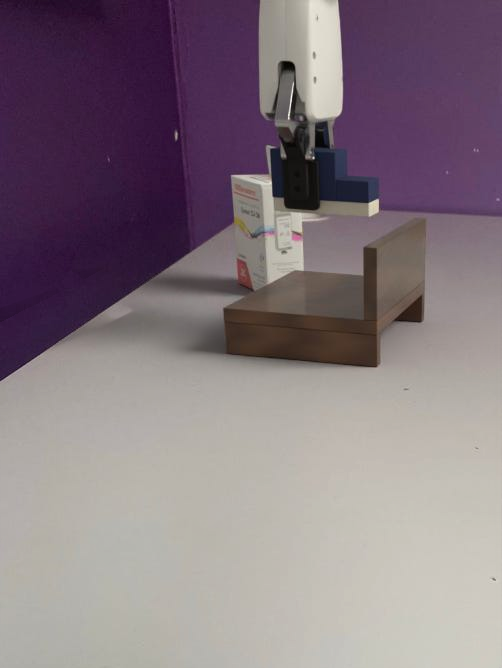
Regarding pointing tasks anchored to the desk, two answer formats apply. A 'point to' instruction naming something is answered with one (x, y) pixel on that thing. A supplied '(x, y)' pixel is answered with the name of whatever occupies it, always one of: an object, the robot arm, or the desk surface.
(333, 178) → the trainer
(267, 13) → the robot arm
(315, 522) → the desk surface
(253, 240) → the ink cartridge box
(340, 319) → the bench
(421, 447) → the desk surface
